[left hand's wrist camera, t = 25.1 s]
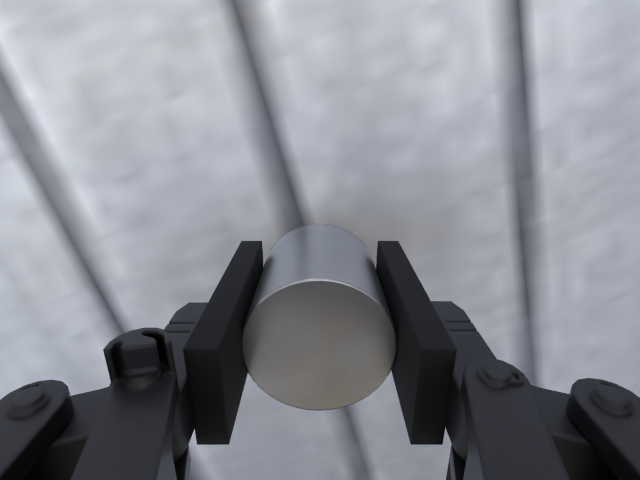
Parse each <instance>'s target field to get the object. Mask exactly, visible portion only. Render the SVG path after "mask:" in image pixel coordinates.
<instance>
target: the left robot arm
mask: <svg viewBox="0 0 640 480" xmlns="http://www.w3.org/2000/svg"><path fill="white" fill-rule="evenodd" d="M262 270H263V252H262V241H242V242H241V243H240V245H239V247H238V249H237V251H236V253H235V254H234V256H233V258H232V260H231V262H230V264H229V265H228V267H227V269H226V271H225V273H224V275H223V277H222V278H221V280H220V282H219V284H218V286H217V288H216V289H215V291H214V293H213V295H212V297H211V299H210V300H209V302H208V303H188V304H186V305H185V306H184V307H182V308H181V309H179V310H178V311H176V313H175V314H174V316H173V317H172V319H171V320H170V322H169V324H168V325H167V326H166V328H165V329H164V330H163V329H159V328H141V329H137V330H132V331H129V332H127V333H124V334H122V335H120V336H118V337H117V338H115V339H114V340H112V341H111V342H109V343H108V345H107V346H106V347H105V348H104V349H103V351H104V355H105V359H106V363H107V367H108V371H109V375H110V380H111V383H110V386H109V387H107V388H103V389H100V390H95V391H91V392H86V393H82V394H77V395H73V396H70V393H69V389H68V386H67V385H65V384H64V383H63V382H62V381H56V380H46V381H38V382H35V383H32V384H28V385H25V386H23V387H21V388H19V389H17V390H15V391H13V392H11V393H9V394H8V395H6V396H5V397H4V398H2V399H1V400H0V480H189V472H190V462H191V459H190V452H189V446H188V444H189V441H190V439H191V436H192V433H193V431H194V428H195V433H196V439H197V444H229V442H230V438H231V434H232V431H233V427H234V423H235V419H236V415H237V411H238V408H239V404H240V400H241V396H242V392H243V389H244V385H245V381H246V377H247V373H248V371H247V369H246V366H245V364H244V361H243V355H242V343H241V335H242V329H243V326H244V323H245V320H246V318H247V315H248V312H249V309H250V306H251V303H252V300H253V297H254V294H255V291H256V288H257V285H258V282H259V279H260V276H261V273H262ZM376 272H377V275H378V278H379V281H380V284H381V287H382V290H383V293H384V296H385V299H386V302H387V305H388V308H389V311H390V314H391V317H392V320H393V323H394V327H395V330H396V335H397V353H396V358H395V361H394V364H393V367H392V369H391V370H392V374H393V378H394V382H395V386H396V389H397V393H398V397H399V401H400V405H401V409H402V412H403V416H404V420H405V424H406V428H407V432H408V435H409V439H410V443H411V444H443V438H444V431H445V427H446V430H447V432H448V435H449V437H450V440H451V443H452V446H451V452H450V458H449V464H448V470H447V477H446V480H640V398H639V397H638V396H636V395H635V394H634V393H632V392H631V391H629V390H627V389H625V388H623V387H621V386H619V385H617V384H614V383H612V382H608V381H604V380H601V379H592V378H586V379H580V380H577V381H576V382H575V383H574V384H573V385H572V388H571V391H570V394H566V393H561V392H557V391H552V390H547V389H543V388H539V387H536V386H532V385H530V383H529V381H528V379H527V378H526V377H525V375H524V374H523V373H522V372H521V371H519V370H518V369H517V368H516V367H514V366H512V365H510V364H508V363H506V362H504V361H501V360H497V359H496V358H495V356H494V355H493V353H492V352H491V350H490V349H489V347H488V346H487V344H486V343H485V341H484V340H483V338H482V337H481V335H480V334H479V332H477V331H476V328H475V326H474V325H473V324H472V323H471V321H470V319H469V318H468V316H467V315H466V313H465V312H464V310H462V309H461V308H459V307H458V306H457V305H455V304H454V303H452V302H451V301H430V299H429V297H428V295H427V293H426V292H425V290H424V288H423V286H422V284H421V282H420V281H419V279H418V277H417V275H416V273H415V271H414V270H413V268H412V266H411V264H410V262H409V260H408V259H407V257H406V255H405V253H404V251H403V249H402V248H401V246H400V244H399V242H398V241H378V248H377V266H376Z"/></svg>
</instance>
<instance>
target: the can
mask: <svg viewBox="0 0 640 480" xmlns="http://www.w3.org/2000/svg"><path fill="white" fill-rule="evenodd" d="M241 343H242V355H243V361H244V364H245V366H246V369H247V371H248V373H249V374H250V376H251V377H252V379H253V380H254V381H255V383H256V384H257V385H258V386H259V387H260V388H261V389H262V390H263V391H264V392H266V393H267V394H268V395H270V396H271V397H273V398H274V399H276V400H278V401H280V402H282V403H285V404H287V405H290V406H293V407H296V408H301V409H307V410H331V409H337V408H341V407H345V406H348V405H351V404H354V403H356V402H358V401H360V400H362V399H364V398H365V397H367V396H368V395H370V394H371V393H372V392H374V391H375V390H376V389H377V388H378V387H379V386H380V385H381V384H382V383H383V382H384V380H385V379H386V377H387V376H388V374H389V373H390V371H391V369H392V367H393V364H394V361H395V358H396V353H397V335H396V330H395V327H394V323H393V320H392V317H391V314H390V311H389V308H388V305H387V302H386V299H385V296H384V293H383V290H382V287H381V284H380V281H379V278H378V275H377V272H376V269H375V266H374V263H373V260H372V257H371V255H370V253H369V251H368V249H367V248H366V246H365V245H364V244H363V243H362V241H360V240H359V239H358V238H357V237H356V236H355V235H353V234H352V233H350V232H349V231H347V230H345V229H342V228H340V227H337V226H333V225H327V224H311V225H305V226H302V227H299V228H296V229H294V230H292V231H290V232H288V233H287V234H285V235H284V236H283V237H281V238H280V239H279V240H278V241H277V242H276V243H275V245H274V246H273V247H272V249H271V250H270V252H269V254H268V256H267V259H266V262H265V265H264V268H263V270H262V273H261V276H260V279H259V282H258V285H257V288H256V291H255V294H254V297H253V300H252V303H251V306H250V309H249V312H248V315H247V318H246V320H245V323H244V326H243V329H242V335H241Z"/></svg>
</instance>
